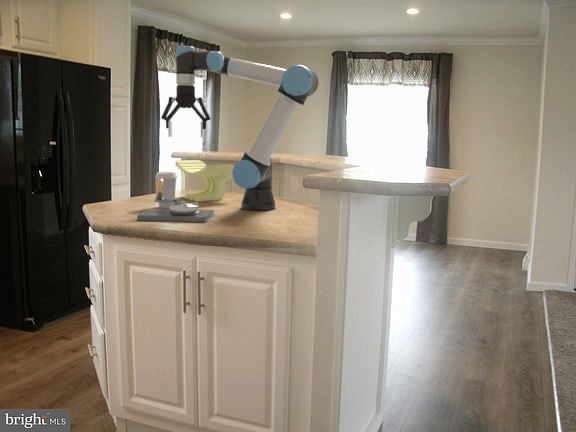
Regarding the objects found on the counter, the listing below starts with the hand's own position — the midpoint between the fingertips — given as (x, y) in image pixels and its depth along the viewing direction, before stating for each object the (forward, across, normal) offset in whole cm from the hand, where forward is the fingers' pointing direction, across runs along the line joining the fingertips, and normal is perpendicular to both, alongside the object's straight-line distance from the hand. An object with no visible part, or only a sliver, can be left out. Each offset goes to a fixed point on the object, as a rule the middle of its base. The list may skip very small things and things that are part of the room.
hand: (186, 137), depth 230 cm
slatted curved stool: (+31, -1, -34) cm, 46 cm away
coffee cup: (+31, +10, -4) cm, 33 cm away
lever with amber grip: (+29, 0, +20) cm, 35 cm away
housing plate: (+31, -1, +22) cm, 37 cm away
